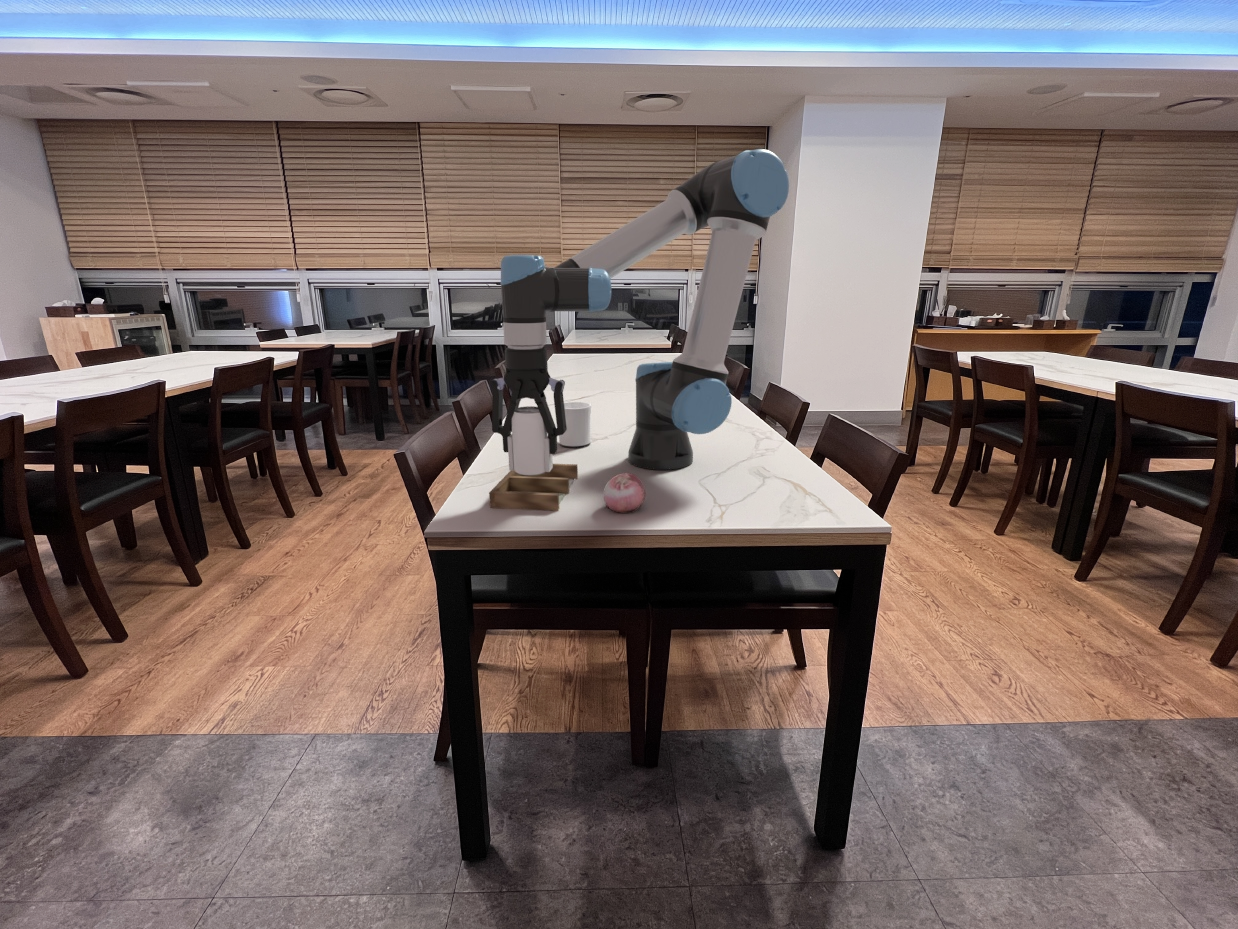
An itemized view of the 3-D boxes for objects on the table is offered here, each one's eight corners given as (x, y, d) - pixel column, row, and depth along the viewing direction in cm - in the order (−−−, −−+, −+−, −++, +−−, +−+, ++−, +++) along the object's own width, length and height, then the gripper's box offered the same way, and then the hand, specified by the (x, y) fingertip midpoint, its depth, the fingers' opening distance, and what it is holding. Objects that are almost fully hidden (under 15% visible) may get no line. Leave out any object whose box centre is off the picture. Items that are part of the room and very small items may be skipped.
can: (541, 477, 108) (539, 413, 105) (508, 475, 109) (505, 412, 106) (552, 467, 114) (550, 406, 111) (521, 465, 116) (518, 405, 112)
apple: (619, 523, 105) (605, 488, 102) (603, 512, 112) (590, 479, 109) (656, 503, 107) (644, 469, 105) (638, 494, 114) (626, 461, 112)
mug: (591, 448, 148) (590, 408, 145) (555, 448, 148) (554, 408, 145) (593, 437, 158) (592, 400, 155) (560, 437, 158) (559, 400, 155)
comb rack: (577, 477, 126) (577, 464, 125) (558, 510, 108) (557, 495, 107) (519, 475, 128) (518, 462, 127) (490, 507, 110) (489, 492, 109)
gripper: (582, 345, 107) (584, 465, 114) (481, 343, 110) (489, 461, 116) (574, 349, 100) (577, 477, 107) (466, 347, 102) (475, 473, 109)
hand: (531, 468), depth 112 cm, fingers closed on can, 6 cm apart
